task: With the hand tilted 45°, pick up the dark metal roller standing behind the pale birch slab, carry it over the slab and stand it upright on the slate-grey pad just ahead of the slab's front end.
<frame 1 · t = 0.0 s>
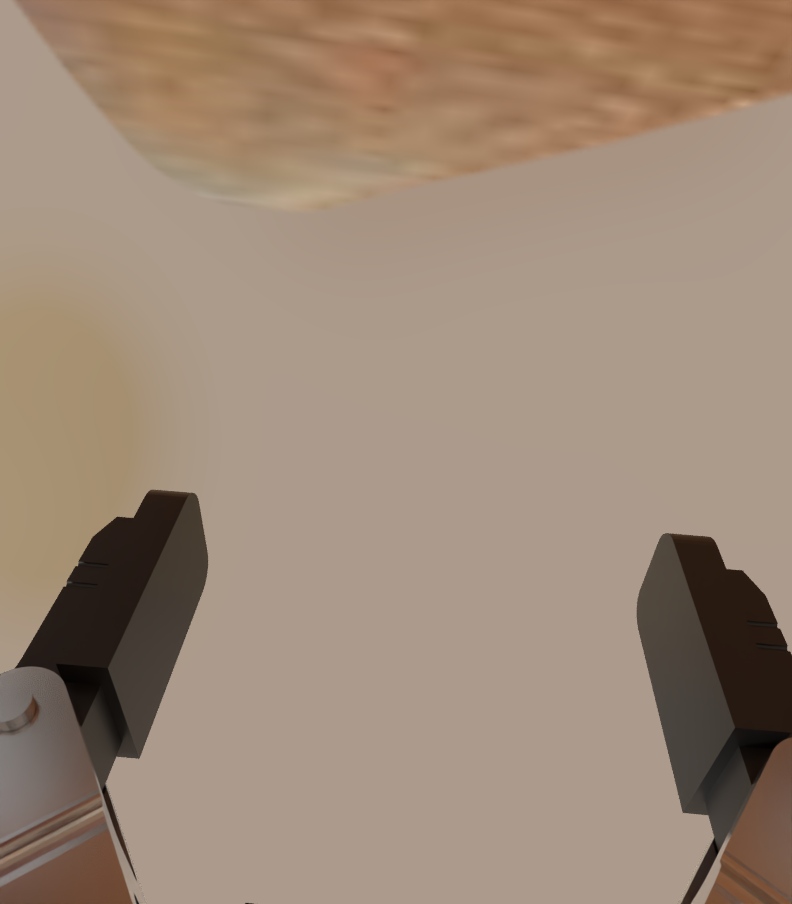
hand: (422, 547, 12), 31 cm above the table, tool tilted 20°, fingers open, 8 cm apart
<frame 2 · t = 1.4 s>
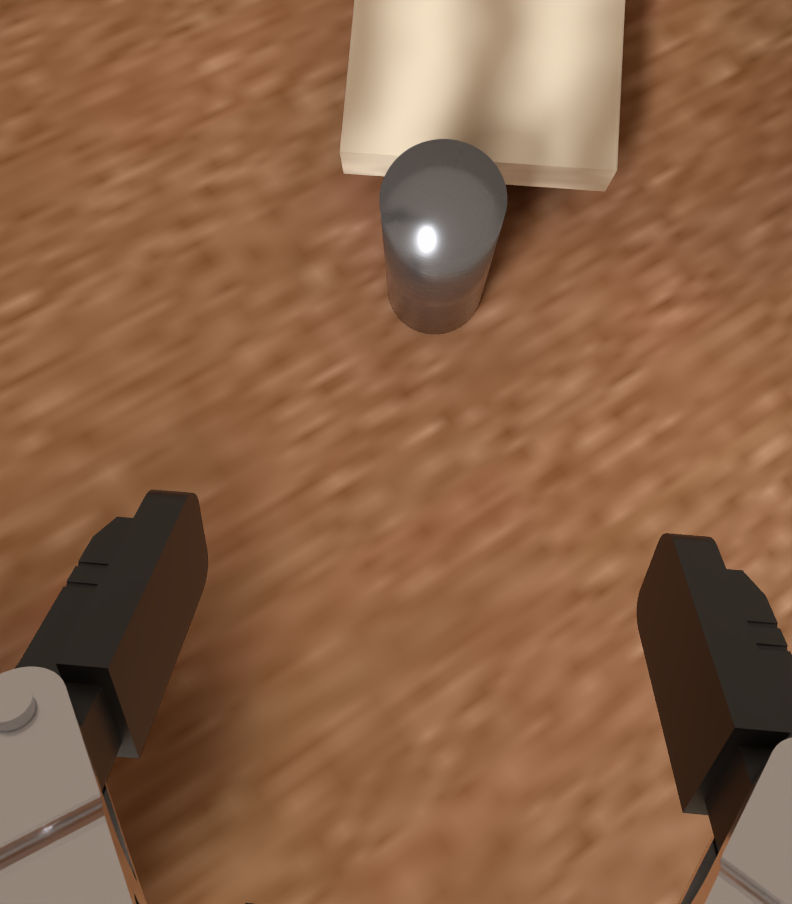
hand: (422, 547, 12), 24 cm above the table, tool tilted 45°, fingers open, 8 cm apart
birch slab: (480, 56, 39), on the table
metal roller: (434, 288, 38), on the table
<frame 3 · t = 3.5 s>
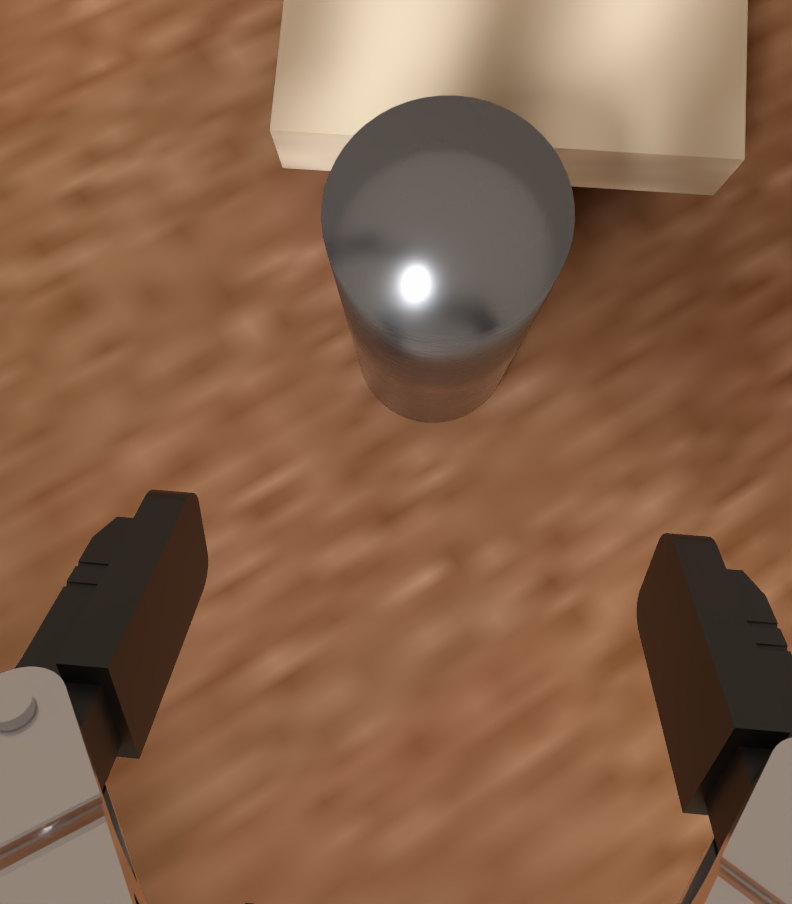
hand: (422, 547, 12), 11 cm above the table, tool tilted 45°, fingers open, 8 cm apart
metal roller: (432, 349, 24), on the table
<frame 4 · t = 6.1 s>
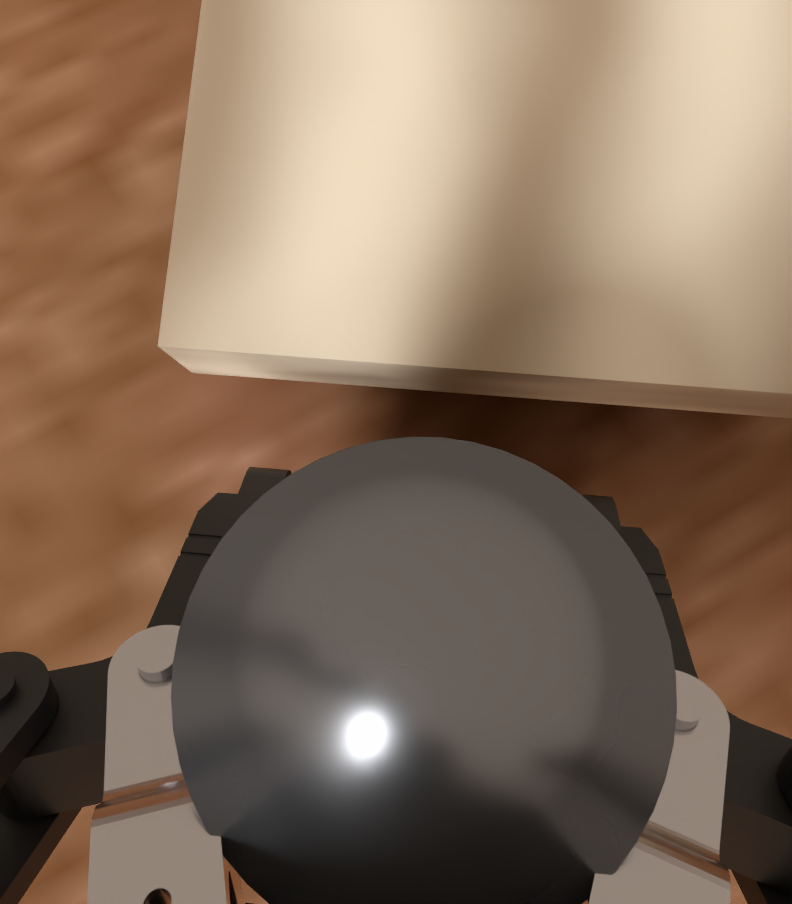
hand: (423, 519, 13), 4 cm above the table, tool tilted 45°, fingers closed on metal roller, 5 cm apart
birch slab: (512, 83, 19), on the table
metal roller: (416, 601, 17), on the table, touching gripper
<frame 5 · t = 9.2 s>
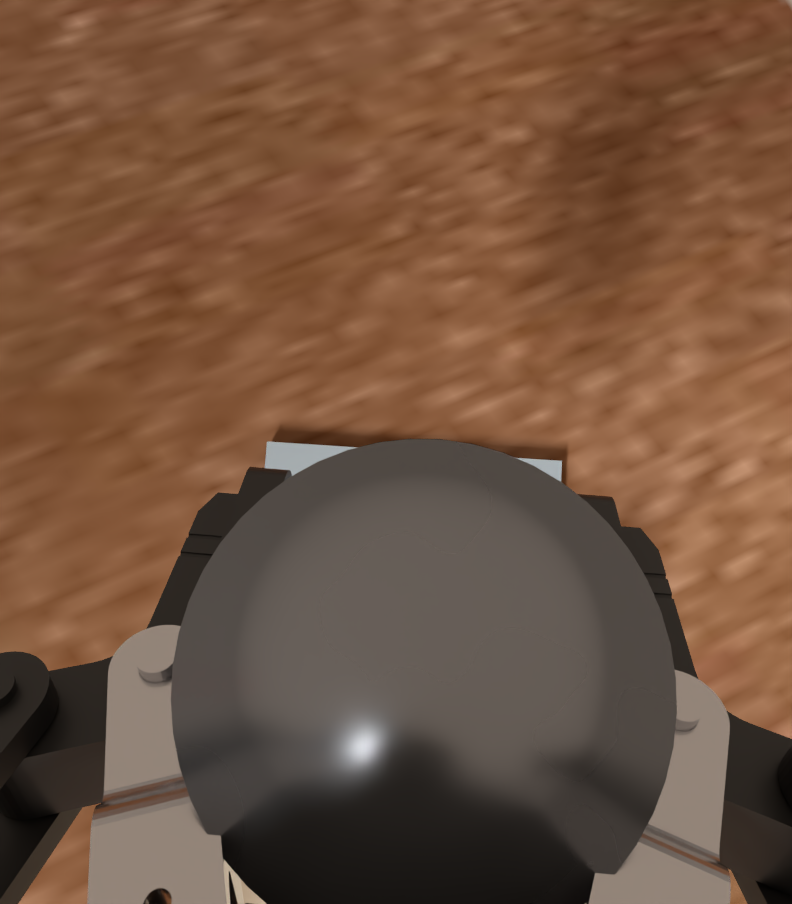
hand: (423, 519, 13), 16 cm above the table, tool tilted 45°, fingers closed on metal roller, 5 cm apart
slate-grey pad: (407, 537, 29), on the table
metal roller: (416, 602, 17), point 12 cm above the table, touching gripper
when the fingers open (6 cm above the table, at t = 12.3 s): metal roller stays where it is, resting on slate-grey pad.
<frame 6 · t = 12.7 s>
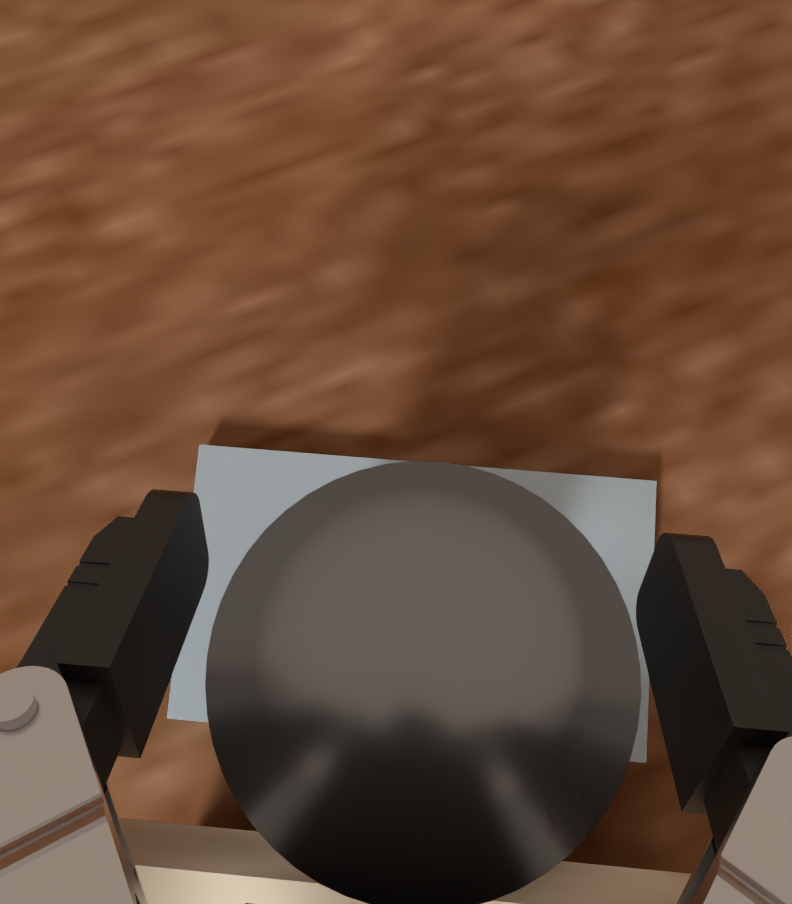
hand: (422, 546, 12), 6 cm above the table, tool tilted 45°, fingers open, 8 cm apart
slate-grey pad: (414, 596, 19), on the table
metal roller: (413, 605, 18), point 1 cm above the table, touching slate-grey pad
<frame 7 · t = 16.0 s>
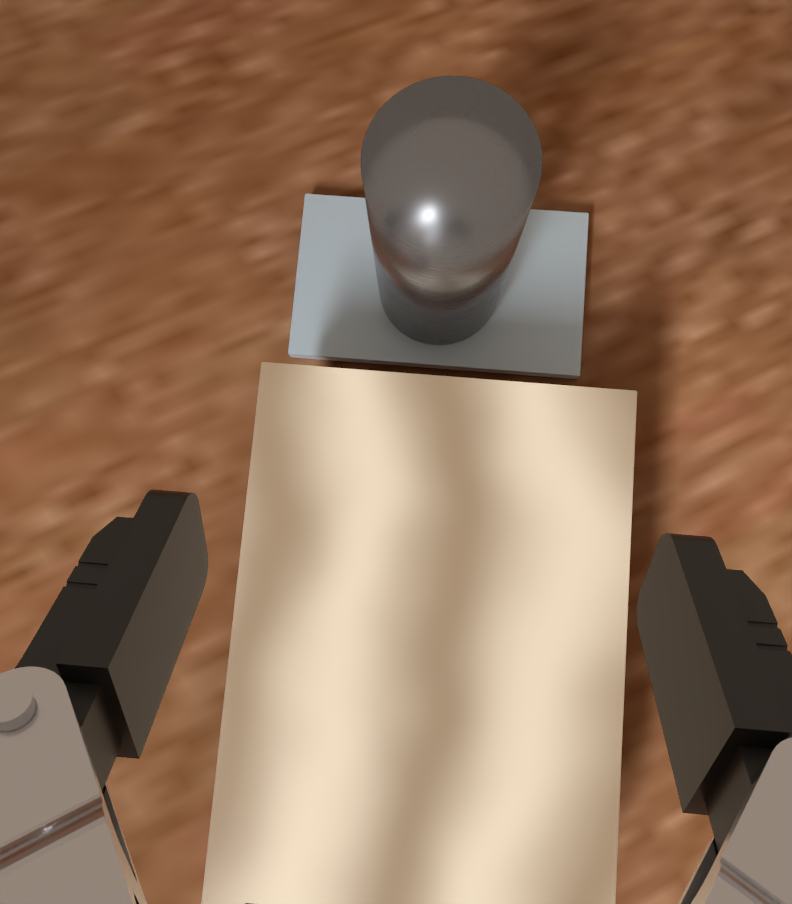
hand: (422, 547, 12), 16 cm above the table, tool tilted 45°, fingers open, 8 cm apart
birch slab: (424, 624, 28), on the table
slate-grey pad: (439, 287, 30), on the table
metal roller: (439, 286, 29), point 1 cm above the table, touching slate-grey pad
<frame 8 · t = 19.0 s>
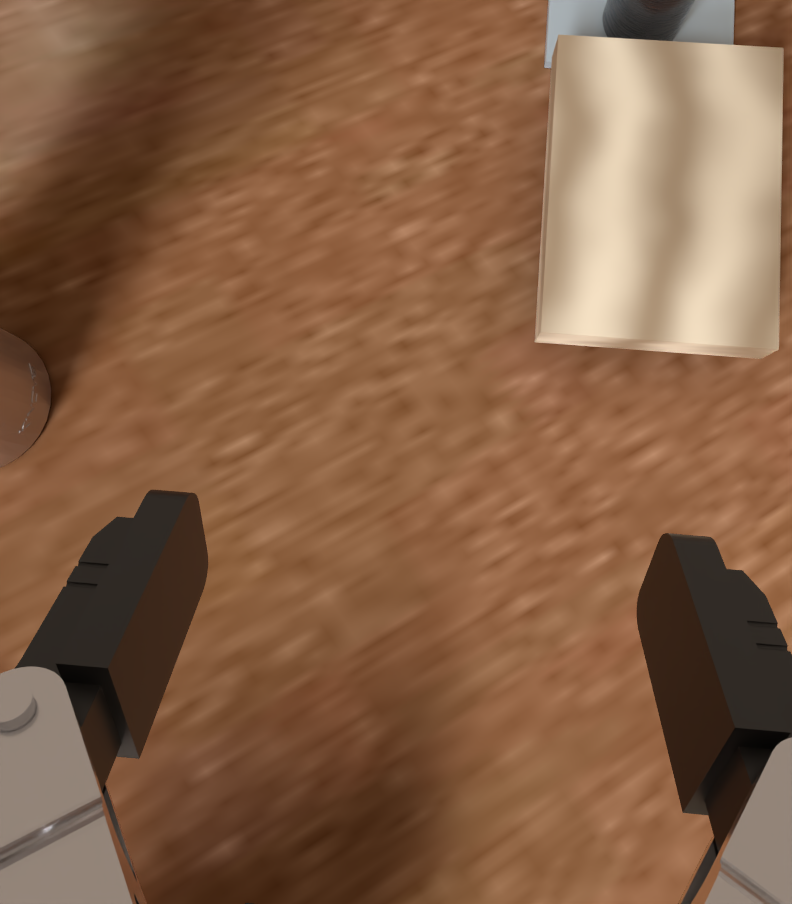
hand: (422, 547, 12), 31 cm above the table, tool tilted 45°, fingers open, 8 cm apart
birch slab: (637, 225, 45), on the table
slate-grey pad: (638, 24, 47), on the table
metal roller: (640, 19, 46), point 1 cm above the table, touching slate-grey pad
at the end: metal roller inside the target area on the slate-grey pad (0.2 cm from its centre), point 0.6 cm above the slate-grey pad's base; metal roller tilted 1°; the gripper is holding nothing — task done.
